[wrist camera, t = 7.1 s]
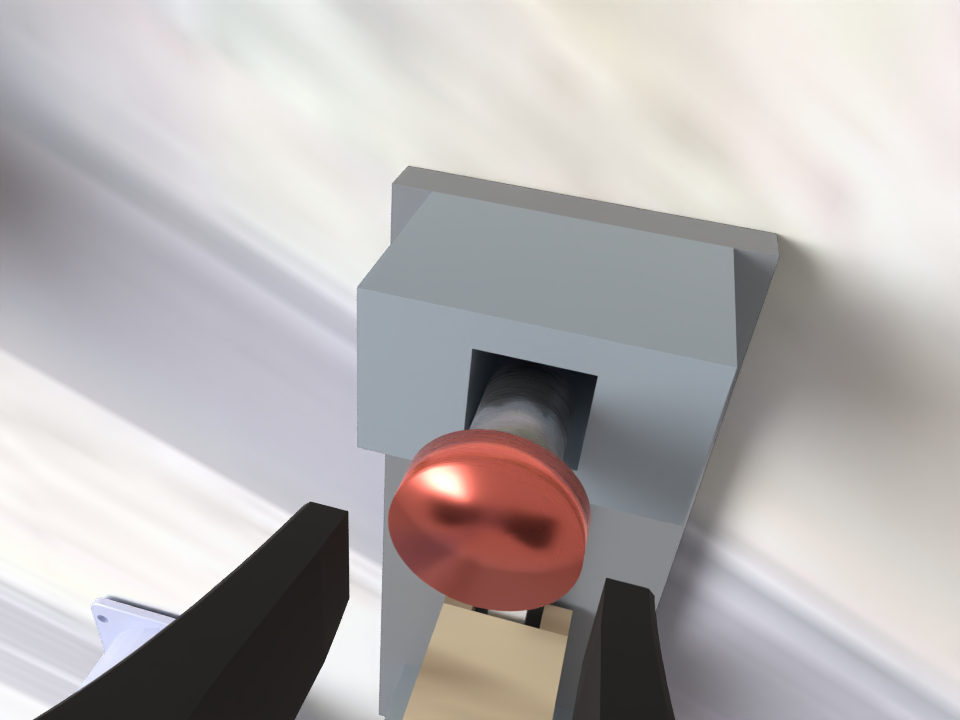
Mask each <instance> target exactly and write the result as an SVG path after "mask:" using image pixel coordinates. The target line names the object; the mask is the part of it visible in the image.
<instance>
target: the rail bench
mask: <svg viewBox="0 0 960 720" xmlns="http://www.w3.org/2000/svg"><path fill="white" fill-rule="evenodd" d="M778 259H779V250H778V242H777V235H776V234H775V233H769V232H764V231H758V230H753V229H747V228H742V227H737V226H731V225H726V224H720V223H715V222H709V221H704V220H699V219H693V218H688V217H682V216H677V215H671V214H666V213H661V212H655V211H650V210H644V209H639V208H633V207H628V206H623V205H617V204H612V203H606V202H601V201H595V200H590V199H585V198H579V197H574V196H568V195H563V194H557V193H552V192H547V191H541V190H536V189H530V188H525V187H519V186H514V185H509V184H503V183H498V182H492V181H487V180H481V179H476V178H471V177H465V176H460V175H454V174H449V173H444V172H438V171H433V170H427V169H422V168H416V167H411V166H408V167H407V168H406V169H405V170H404V171H403V172H402V173H401V174H400V175H399V177H398V178H397V179H396V180H395V181H394V182H393V183H392V207H391V245H390V246H389V247H388V249H387V250H386V251H385V252H384V254H383V255H382V256H381V257H380V259H379V260H378V261H377V263H376V264H375V265H374V266H373V268H372V269H371V270H370V272H369V273H368V274H367V275H366V277H365V278H364V279H363V281H362V282H361V283H360V284H359V286H358V287H357V447H359V448H363V449H367V450H371V451H375V452H380V453H384V454H385V489H384V529H383V569H382V610H381V650H380V690H379V715H382V716H385V720H403V716H404V713H405V711H406V708H407V705H408V702H409V699H410V696H411V694H412V691H413V688H414V685H415V682H416V680H417V677H418V674H419V671H420V668H421V665H422V663H423V660H424V657H425V654H426V651H427V649H428V646H429V643H430V640H431V637H432V634H433V632H434V629H435V626H436V623H437V620H438V618H439V615H440V612H441V609H442V606H443V603H444V601H445V598H446V595H444V594H442V593H440V592H439V591H437V590H435V589H434V588H432V587H431V586H429V585H428V584H426V583H425V582H424V581H422V580H421V579H420V578H419V577H418V576H417V575H416V574H414V573H413V572H412V571H411V570H410V568H409V567H408V566H407V565H406V564H405V563H404V561H403V560H402V559H401V557H400V556H399V554H398V552H397V551H396V549H395V547H394V545H393V542H392V540H391V537H390V533H389V528H388V514H389V509H390V505H391V502H392V500H393V498H394V496H395V494H396V492H397V490H398V488H399V486H400V484H401V482H402V479H403V477H404V475H405V473H406V471H407V469H408V467H409V465H410V463H411V461H412V460H413V458H414V456H415V455H416V454H417V453H418V451H419V450H420V449H421V448H423V447H424V446H425V445H426V444H427V443H429V442H431V441H432V440H434V439H435V438H438V437H440V436H442V435H445V434H448V433H452V432H455V431H461V430H468V429H470V426H471V424H472V422H473V419H474V417H475V414H476V412H477V409H478V407H479V405H480V402H481V400H482V397H483V395H484V393H485V390H486V388H487V385H488V383H489V381H490V379H491V377H492V376H493V375H494V373H496V372H497V371H498V370H499V369H501V368H502V367H504V366H506V365H509V364H512V363H517V362H532V363H537V364H541V365H544V366H547V367H549V368H551V369H553V370H554V371H556V372H557V373H559V374H560V375H561V376H562V377H563V378H564V379H565V380H566V381H567V382H568V384H569V385H570V387H571V389H572V390H573V393H574V396H575V411H574V416H573V420H572V424H571V428H570V432H569V436H568V440H567V444H566V448H565V452H564V456H563V460H562V461H563V462H564V463H565V464H566V465H567V466H568V467H569V468H570V469H571V470H572V471H573V472H574V474H575V475H576V476H577V478H578V479H579V480H580V482H581V484H582V485H583V487H584V489H585V491H586V494H587V496H588V499H589V503H590V508H591V522H590V529H589V534H588V540H587V545H586V550H585V556H584V561H583V567H582V570H581V573H580V576H579V578H578V580H577V582H576V583H575V585H574V586H573V587H572V588H571V589H570V591H569V592H568V593H566V594H565V595H564V596H563V597H561V598H560V599H558V600H556V601H555V602H553V603H550V605H553V606H557V607H561V608H565V609H568V610H572V617H571V622H570V628H569V633H568V638H567V644H566V649H565V654H564V660H563V665H562V670H561V676H560V681H559V686H558V692H557V697H556V702H555V708H554V713H553V718H552V720H572V717H573V711H574V706H575V700H576V695H577V689H578V684H579V679H580V673H581V668H582V662H583V659H584V655H585V651H586V648H587V644H588V641H589V637H590V633H591V630H592V626H593V623H594V619H595V616H596V612H597V608H598V605H599V601H600V598H601V594H602V590H603V587H604V583H605V580H606V578H610V579H614V580H618V581H622V582H626V583H630V584H634V585H638V586H641V587H645V588H649V589H650V591H651V592H652V593H653V594H654V596H655V611H656V609H657V606H658V604H659V601H660V598H661V595H662V592H663V589H664V586H665V584H666V581H667V578H668V575H669V572H670V569H671V566H672V563H673V561H674V558H675V555H676V552H677V549H678V546H679V543H680V540H681V538H682V535H683V532H684V529H685V526H686V523H687V520H688V518H689V515H690V512H691V509H692V506H693V503H694V500H695V497H696V495H697V492H698V489H699V486H700V483H701V480H702V477H703V475H704V472H705V469H706V466H707V463H708V460H709V457H710V454H711V452H712V449H713V446H714V443H715V440H716V437H717V434H718V431H719V429H720V426H721V423H722V420H723V417H724V414H725V411H726V409H727V406H728V403H729V400H730V397H731V394H732V391H733V388H734V386H735V383H736V380H737V377H738V374H739V371H740V368H741V365H742V363H743V360H744V357H745V354H746V351H747V348H748V345H749V343H750V340H751V337H752V334H753V331H754V328H755V325H756V322H757V320H758V317H759V314H760V311H761V308H762V305H763V302H764V299H765V297H766V294H767V291H768V288H769V285H770V282H771V279H772V277H773V274H774V271H775V268H776V265H777V262H778ZM543 610H544V606H543V607H539V608H536V609H531V610H524V611H496V610H488V609H483V608H479V607H476V610H475V612H479V613H482V614H486V615H490V616H493V617H497V618H501V619H505V620H508V621H512V622H516V623H519V624H523V625H527V626H530V627H534V628H538V629H539V628H540V624H541V619H542V615H543Z"/></svg>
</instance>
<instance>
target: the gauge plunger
mask: <svg viewBox="0 0 960 720" xmlns="http://www.w3.org/2000/svg"><path fill="white" fill-rule="evenodd" d="M574 411H575V396H574V393H573V390H572V389H571V387H570V385H569V384H568V382H567V381H566V380H565V379H564V378H563V377H562V376H561V375H560V374H559V373H557V372H556V371H554V370H553V369H551V368H549V367H547V366H544V365H541V364H537V363H532V362H517V363H512V364H509V365H506V366H504V367H502V368H501V369H499V370H498V371H497V372H496V373H494V375H493V376H492V377H491V379H490V381H489V383H488V385H487V388H486V390H485V393H484V395H483V397H482V400H481V402H480V405H479V407H478V409H477V412H476V414H475V417H474V419H473V422H472V424H471V426H470V429H468V430H461V431H455V432H452V433H448V434H445V435H442V436H440V437H438V438H435V439H434V440H432V441H431V442H429V443H427V444H426V445H425V446H424V447H423V448H421V449H420V450H419V451H418V453H417V454H416V455H415V456H414V458H413V460H412V461H411V463H410V465H409V467H408V469H407V471H406V473H405V475H404V477H403V479H402V482H401V484H400V486H399V488H398V490H397V492H396V494H395V496H394V498H393V500H392V502H391V505H390V509H389V514H388V528H389V533H390V537H391V540H392V542H393V545H394V547H395V549H396V551H397V552H398V554H399V556H400V557H401V559H402V560H403V561H404V563H405V564H406V565H407V566H408V567H409V568H410V570H411V571H412V572H413V573H414V574H416V575H417V576H418V577H419V578H420V579H421V580H422V581H424V582H425V583H426V584H428V585H429V586H431V587H432V588H434V589H435V590H437V591H439V592H440V593H442V594H444V595H446V596H448V597H450V598H452V599H455V600H457V601H460V602H462V603H465V604H468V605H471V606H474V607H479V608H483V609H488V610H496V611H524V610H531V609H536V608H539V607H543V606H545V605H548V604H550V603H553V602H555V601H556V600H558V599H560V598H561V597H563V596H564V595H565V594H566V593H568V592H569V591H570V589H571V588H572V587H573V586H574V585H575V583H576V582H577V580H578V578H579V576H580V573H581V570H582V567H583V561H584V556H585V550H586V545H587V540H588V534H589V529H590V522H591V508H590V503H589V499H588V496H587V494H586V491H585V489H584V487H583V485H582V484H581V482H580V480H579V479H578V478H577V476H576V475H575V474H574V472H573V471H572V470H571V469H570V468H569V467H568V466H567V465H566V464H565V463H564V462H563V461H562V460H563V456H564V452H565V448H566V444H567V440H568V436H569V432H570V428H571V424H572V420H573V416H574Z"/></svg>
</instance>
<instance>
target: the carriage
mask: <svg viewBox="0 0 960 720" xmlns="http://www.w3.org/2000/svg"><path fill="white" fill-rule="evenodd" d="M475 610H476V607H474V606H471V605H468V604H465V603H462V602H460V601H457V600H455V599H452V598H450V597H448V596H446V598H445V601H444V603H443V606H442V609H441V612H440V615H439V618H438V620H437V623H436V626H435V629H434V632H433V634H432V637H431V640H430V643H429V646H428V649H427V651H426V654H425V657H424V660H423V663H422V665H421V668H420V671H419V674H418V677H417V680H416V682H415V685H414V688H413V691H412V694H411V696H410V699H409V702H408V705H407V708H406V711H405V713H404V716H403V720H552V718H553V713H554V708H555V702H556V697H557V692H558V686H559V681H560V676H561V670H562V665H563V660H564V654H565V649H566V644H567V638H568V633H569V628H570V622H571V617H572V610H568V609H565V608H561V607H557V606H553V605H550V604H548V605H545V606H544V610H543V615H542V619H541V624H540V628H539V629H538V628H534V627H530V626H527V625H523V624H519V623H516V622H512V621H508V620H505V619H501V618H497V617H493V616H490V615H486V614H482V613H479V612H475Z"/></svg>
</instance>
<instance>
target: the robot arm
mask: <svg viewBox="0 0 960 720" xmlns="http://www.w3.org/2000/svg"><path fill="white" fill-rule="evenodd" d="M348 600H349V529H348V511H345V510H341V509H337V508H333V507H330V506H326V505H322V504H318V503H314V502H309V503H307V504H305V505H304V506H303V507H302V508H301V509H300V510H299V511H297V512H296V513H295V514H294V515H293V516H292V517H291V518H290V519H289V520H288V521H287V522H286V523H285V524H284V525H283V526H282V527H281V528H280V529H279V530H278V531H277V532H276V533H274V534H273V535H272V536H271V537H270V538H269V539H268V540H267V541H266V542H265V543H264V544H263V545H262V546H261V547H259V548H258V549H257V550H256V551H255V552H254V553H253V554H252V555H251V556H249V557H248V558H247V559H246V560H245V561H244V562H243V563H242V564H241V565H240V566H238V567H237V568H236V569H235V570H234V571H233V572H231V573H230V574H229V575H228V576H227V577H226V578H224V579H223V580H222V581H221V582H220V583H219V584H217V585H216V586H215V587H214V588H213V589H212V590H210V591H209V592H208V593H207V594H206V595H205V596H203V597H202V598H201V599H200V600H199V601H198V602H196V603H195V604H194V605H193V606H192V607H190V608H189V609H188V610H187V611H185V612H184V613H183V614H182V615H180V616H179V617H178V618H176V619H175V618H172V617H168V616H165V615H161V614H158V613H154V612H151V611H147V610H144V609H140V608H137V607H133V606H130V605H127V604H123V603H120V602H116V601H113V600H109V599H106V598H97V599H96V600H95V601H94V602H93V604H92V605H91V610H92V613H93V616H94V619H95V622H96V625H97V629H98V632H99V635H100V638H101V641H102V644H103V648H104V651H105V653H104V655H103V656H102V657H101V659H100V660H99V661H98V663H97V664H96V665H95V667H94V668H93V670H92V671H91V672H90V674H89V675H88V676H87V678H86V679H85V680H84V682H83V683H82V684H81V686H80V687H79V688H78V690H77V691H76V692H75V693H74V694H73V695H71V696H70V697H68V698H67V699H65V700H64V701H62V702H60V703H59V704H57V705H56V706H54V707H53V708H51V709H49V710H48V711H46V712H45V713H43V714H41V715H40V716H38V717H37V718H35V719H33V720H294V719H295V718H296V716H297V714H298V712H299V710H300V708H301V706H302V704H303V702H304V700H305V698H306V696H307V695H308V693H309V691H310V689H311V687H312V685H313V683H314V681H315V679H316V677H317V675H318V673H319V671H320V669H321V668H322V666H323V664H324V662H325V659H326V657H327V654H328V652H329V649H330V647H331V644H332V642H333V639H334V637H335V634H336V632H337V629H338V627H339V624H340V621H341V619H342V616H343V614H344V611H345V608H346V606H347V603H348ZM572 720H675V717H674V713H673V709H672V705H671V700H670V696H669V691H668V686H667V682H666V676H665V671H664V666H663V661H662V655H661V649H660V643H659V636H658V629H657V620H656V611H655V596H654V594H653V593H652V592H651V591H650V589H649V588H645V587H641V586H638V585H634V584H630V583H626V582H622V581H618V580H614V579H610V578H606V580H605V583H604V587H603V590H602V594H601V598H600V601H599V605H598V608H597V612H596V616H595V619H594V623H593V626H592V630H591V633H590V637H589V641H588V644H587V648H586V651H585V655H584V659H583V662H582V668H581V673H580V679H579V684H578V689H577V695H576V700H575V706H574V711H573V717H572Z"/></svg>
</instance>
